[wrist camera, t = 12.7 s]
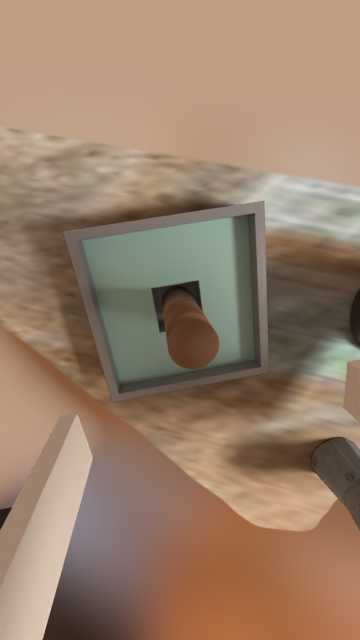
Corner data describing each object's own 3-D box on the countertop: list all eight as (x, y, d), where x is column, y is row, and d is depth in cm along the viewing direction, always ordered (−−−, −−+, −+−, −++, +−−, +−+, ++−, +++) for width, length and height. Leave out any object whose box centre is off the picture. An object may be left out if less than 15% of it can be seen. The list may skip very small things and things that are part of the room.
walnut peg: (190, 283, 31) (216, 317, 18) (194, 312, 33) (221, 364, 19) (159, 288, 31) (163, 326, 18) (164, 317, 32) (172, 373, 19)
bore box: (243, 207, 30) (264, 200, 24) (251, 351, 37) (268, 372, 31) (80, 232, 29) (62, 231, 23) (118, 376, 36) (112, 402, 30)
